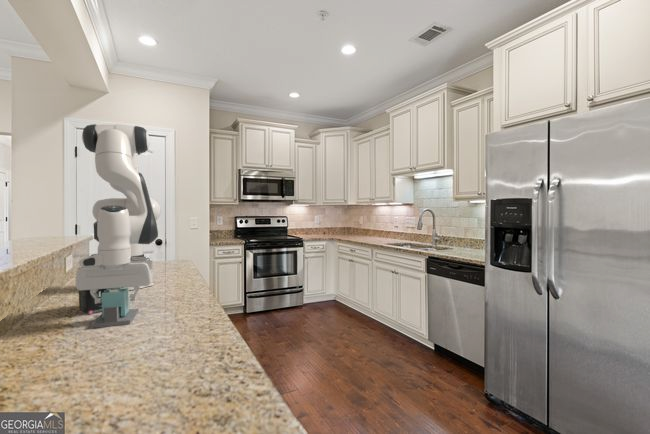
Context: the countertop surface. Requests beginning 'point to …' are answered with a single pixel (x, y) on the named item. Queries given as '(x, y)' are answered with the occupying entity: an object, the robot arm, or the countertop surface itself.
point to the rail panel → (114, 317)
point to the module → (116, 299)
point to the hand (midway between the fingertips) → (116, 301)
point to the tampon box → (90, 301)
